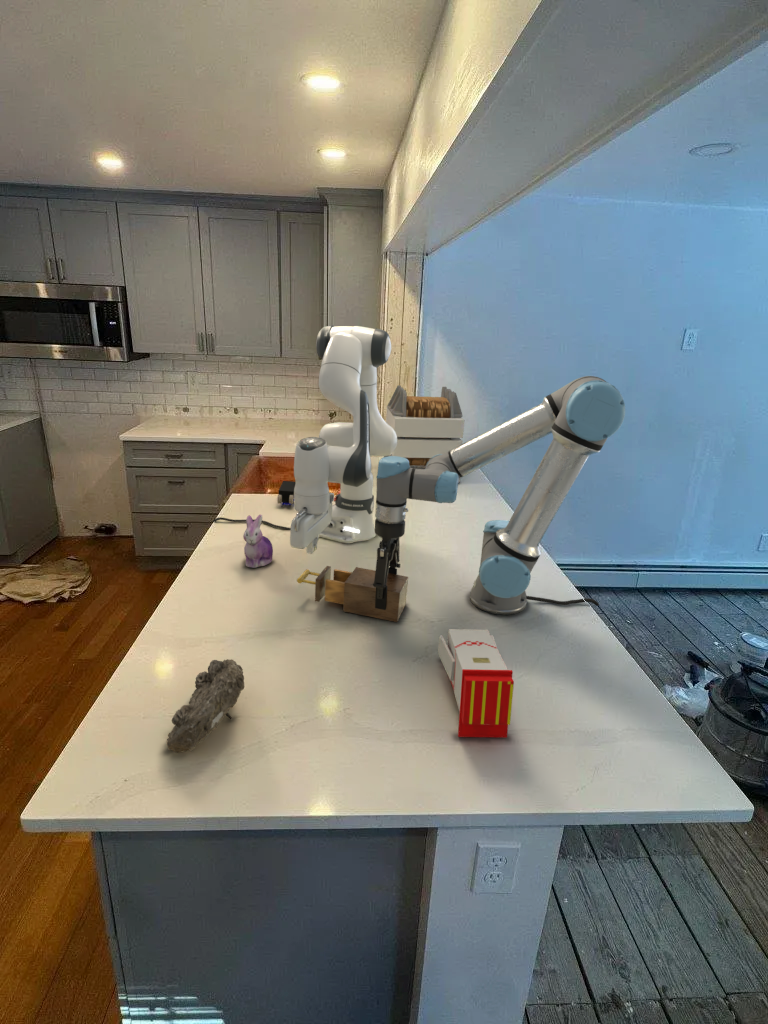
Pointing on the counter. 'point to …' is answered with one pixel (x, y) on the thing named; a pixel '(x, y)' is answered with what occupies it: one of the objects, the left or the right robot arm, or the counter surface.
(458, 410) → the transformer
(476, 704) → the toy
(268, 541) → the figurine
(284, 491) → the figurine character
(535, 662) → the counter surface
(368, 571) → the wooden drawer cabinet
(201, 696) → the fossil
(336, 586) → the drawer
